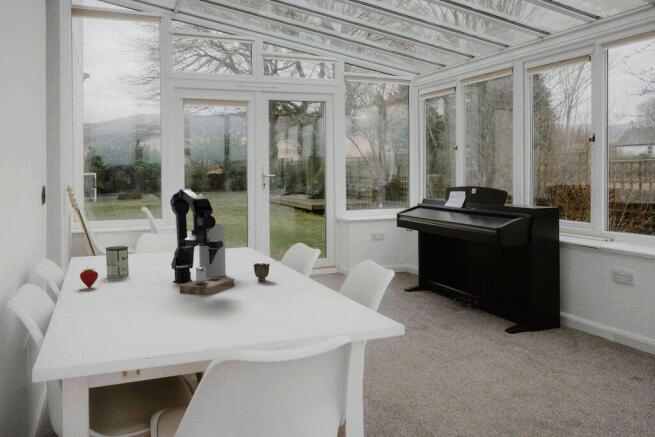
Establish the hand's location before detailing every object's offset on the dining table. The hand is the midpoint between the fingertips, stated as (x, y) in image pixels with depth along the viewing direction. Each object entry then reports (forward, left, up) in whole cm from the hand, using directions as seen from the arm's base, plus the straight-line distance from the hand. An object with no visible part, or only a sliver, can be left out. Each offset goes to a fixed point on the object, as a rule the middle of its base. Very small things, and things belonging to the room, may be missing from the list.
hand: (201, 263), depth 233 cm
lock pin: (0, 0, -12) cm, 12 cm away
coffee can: (-60, +18, -12) cm, 64 cm away
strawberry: (-51, -10, -12) cm, 53 cm away
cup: (+14, +29, -12) cm, 34 cm away
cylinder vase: (-15, +33, -12) cm, 38 cm away
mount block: (0, +5, -12) cm, 13 cm away
